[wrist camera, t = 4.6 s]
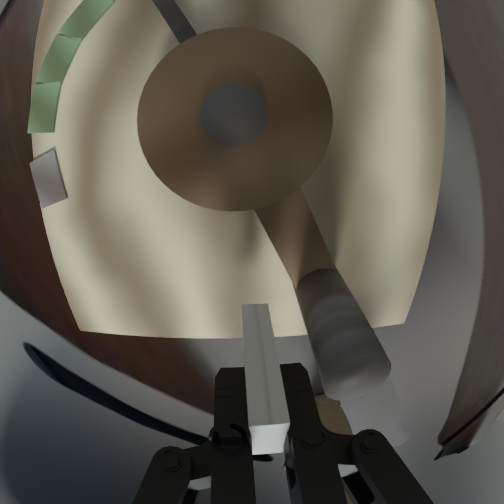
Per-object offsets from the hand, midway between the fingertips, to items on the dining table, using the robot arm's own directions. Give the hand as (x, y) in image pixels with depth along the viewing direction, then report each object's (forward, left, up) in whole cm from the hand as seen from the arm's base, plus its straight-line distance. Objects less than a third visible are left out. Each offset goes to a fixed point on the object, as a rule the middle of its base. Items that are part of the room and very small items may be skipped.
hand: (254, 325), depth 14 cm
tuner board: (+1, -10, -5) cm, 11 cm away
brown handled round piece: (+1, -11, -3) cm, 11 cm away
